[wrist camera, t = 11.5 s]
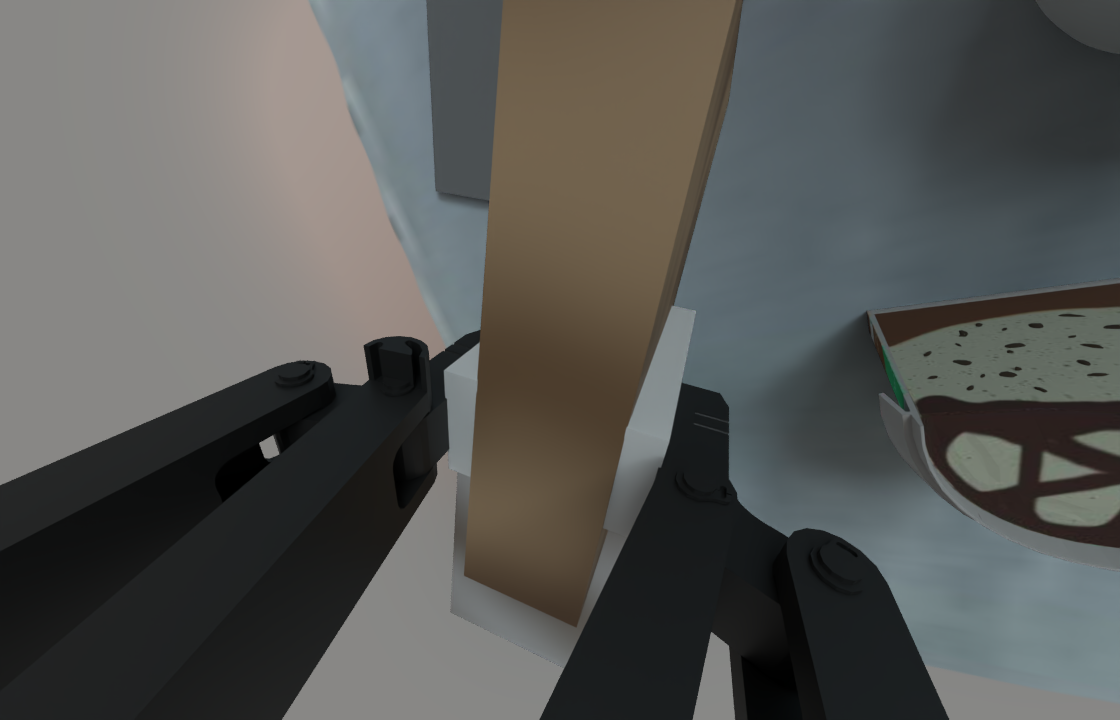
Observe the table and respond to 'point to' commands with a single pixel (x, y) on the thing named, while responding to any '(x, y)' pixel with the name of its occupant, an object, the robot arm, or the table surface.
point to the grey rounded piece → (1087, 21)
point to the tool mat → (464, 92)
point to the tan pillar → (578, 288)
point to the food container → (1014, 411)
